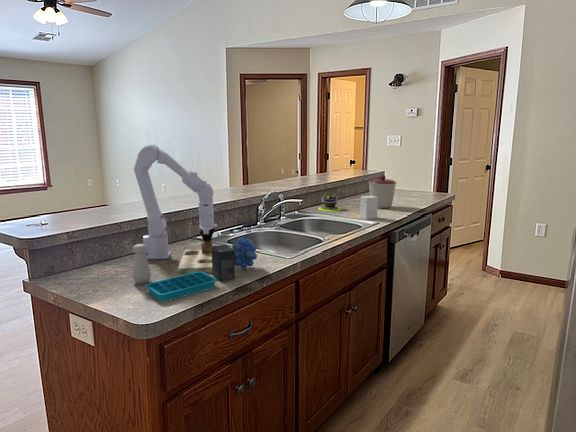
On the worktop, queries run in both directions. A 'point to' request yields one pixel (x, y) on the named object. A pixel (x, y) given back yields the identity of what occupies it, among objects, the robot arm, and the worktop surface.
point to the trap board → (195, 262)
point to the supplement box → (368, 207)
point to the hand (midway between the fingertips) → (207, 247)
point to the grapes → (244, 253)
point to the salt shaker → (141, 265)
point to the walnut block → (206, 246)
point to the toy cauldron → (330, 204)
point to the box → (223, 262)
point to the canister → (382, 191)
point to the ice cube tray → (181, 285)
